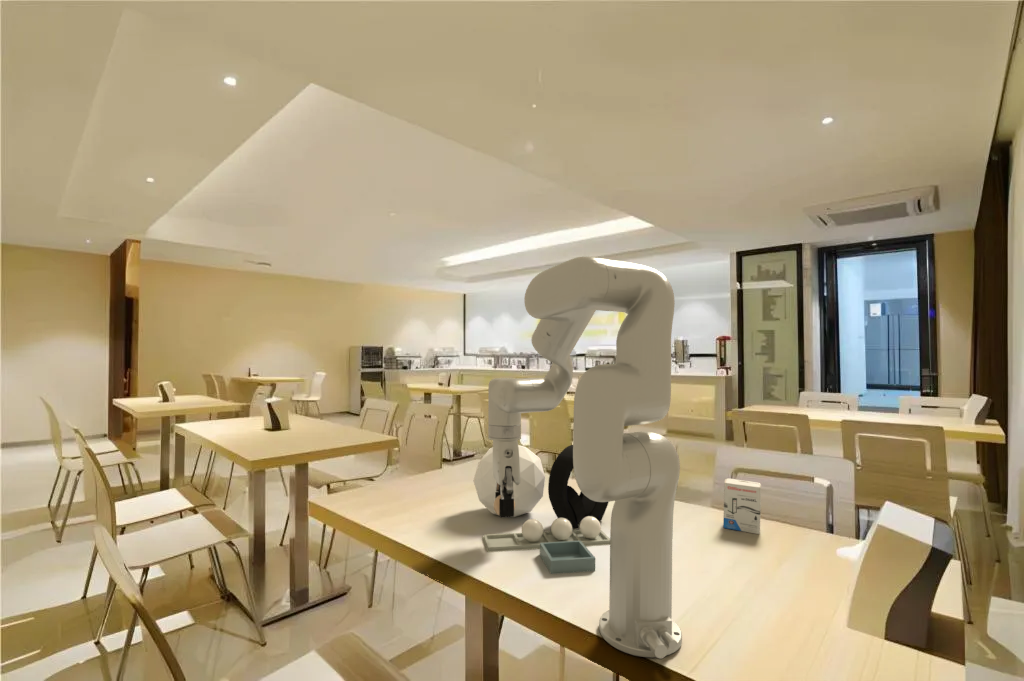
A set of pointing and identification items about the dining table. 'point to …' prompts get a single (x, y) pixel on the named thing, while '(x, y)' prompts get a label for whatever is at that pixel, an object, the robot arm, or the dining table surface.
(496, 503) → the brown egg
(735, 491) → the ink box
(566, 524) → the white egg
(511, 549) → the carton
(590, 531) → the white egg
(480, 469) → the polyhedron
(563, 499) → the headphones
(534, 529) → the white egg
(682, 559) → the dining table surface
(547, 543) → the dish
